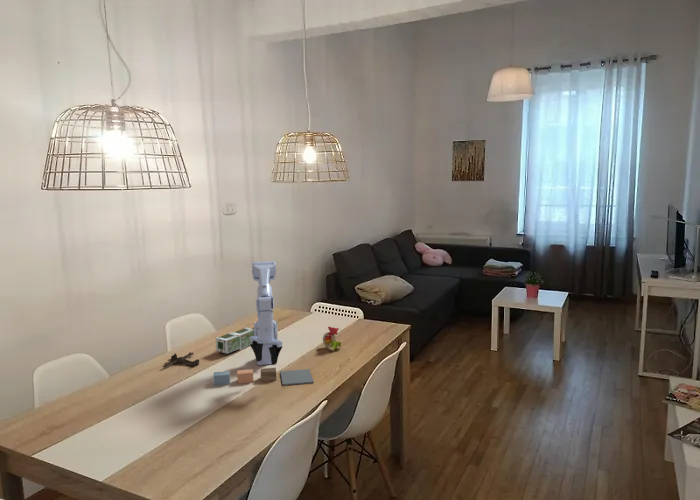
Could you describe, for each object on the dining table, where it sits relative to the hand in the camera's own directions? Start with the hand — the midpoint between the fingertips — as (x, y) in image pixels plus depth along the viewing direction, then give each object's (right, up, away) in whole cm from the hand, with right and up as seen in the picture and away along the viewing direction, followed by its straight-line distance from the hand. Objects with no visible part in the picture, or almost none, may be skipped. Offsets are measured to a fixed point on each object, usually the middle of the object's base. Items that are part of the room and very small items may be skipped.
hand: (266, 362), depth 200 cm
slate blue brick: (-18, -9, +4) cm, 20 cm away
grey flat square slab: (+11, -8, +8) cm, 16 cm away
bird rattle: (+23, -3, +41) cm, 47 cm away
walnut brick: (0, -8, +7) cm, 11 cm away
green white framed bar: (-17, -2, +49) cm, 51 cm away
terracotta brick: (-9, -9, +6) cm, 14 cm away
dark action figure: (-39, -6, +24) cm, 46 cm away
